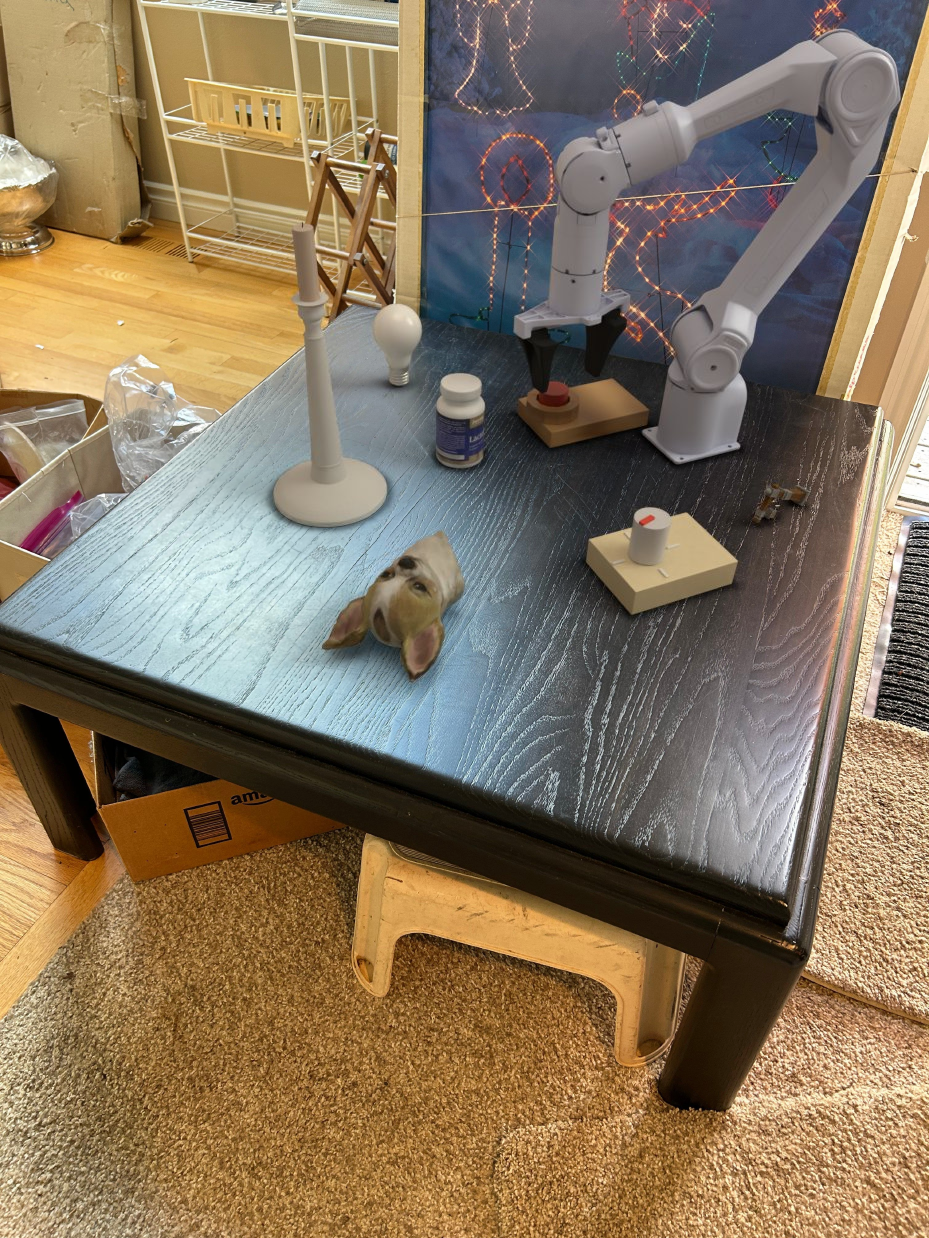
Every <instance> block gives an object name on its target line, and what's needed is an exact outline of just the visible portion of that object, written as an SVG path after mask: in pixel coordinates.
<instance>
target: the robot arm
mask: <svg viewBox="0 0 929 1238" xmlns="http://www.w3.org/2000/svg"><path fill="white" fill-rule="evenodd" d="M899 83H900V82H899V74H898V68H897V64H896V61H895V60H894V58H893V57H892V55H890V53H889V52H887V51H886V50H884V49H881V48H879V47H875V46H873V45H871V44H869V43H868V42H866V41H865V40H863V39H861V38H860V37H859V35H858V34H856V33H855V32H853V31H852V30H850V29H846V28H834V29H831V30H828V31H826V32H824V33H822V34H820V35H819V36H818V37H816V38H815V39H814V40H813V39H808V40H805V41H802V42H799V43H797V44H795V45H794V46H792V47H790V48H789V49H788V50H786V51H785V52H783V53H782V54H780V55H778V56H777V57H775V58H773V59H771V60H769V61H767V62H766V63H764V64H762V65H760V66H758V67H756V68H755V69H753V70H751V71H749V72H748V73H746V74H744V75H742V76H740V77H738V78H737V79H734V80H732V81H731V82H729V83H727V84H725V85H723V86H721V87H720V88H718V89H716V90H714V91H712V92H710V93H709V94H707V95H705V96H703V97H702V98H699V99H697V100H695V101H694V102H692V103H690V104H689V105H686V106H681V105H679V104H677V103H675V102H672V101H669V100H666V101H664V102H662V103H660V104H658V103H657V101H656V100H655V99H652V100H651V101H649V102H646V103H645V104H643V105H642V110H643V112H642V113H640V114H638V115H635V116H633V117H631V118H629V119H627V120H625V121H622V122H621V123H619V124H617V125H615V126H613V127H612V128H609V129H607V127H606V126H602V127H600V128H598V129H596V131H595V134H596V137H597V138H595V137H592V136H591V137H588V136H581V137H578V138H575V139H573V140H571V141H570V142H569V143H568V144H566V146H564V148H563V151H560V154H559V156H558V158H557V161H556V163H555V164H554V166H553V169H554V170H553V171H554V172H553V173H554V177H555V180H556V182H557V184H558V186H559V188H560V191H559V192H558V195H557V196H558V197H557V202H556V208H555V209H556V216H555V219H554V223H553V237H552V249H551V262H550V272H549V273H550V274H549V286H548V287H549V288H548V299H547V300H544V301H543V302H541V303H539V304H538V305H536V306H534V307H532V308H530V309H529V310H526V311H525V312H522V313H519V314H516V315H514V317H513V320H514V321H513V333H514V334H515V336H516V338H517V339H518V341H519V343H520V345H521V347H522V350H523V353H524V355H525V358H526V361H527V365H528V369H529V373H530V374H529V375H530V380H531V386H532V388H533V389H534V388H535V389H536V390H538V391H539V392H540V393H545V392H547V390H548V386H549V382H550V378H551V369H552V364H553V361H554V357H555V355H556V352H557V349H558V347H559V346H560V344H559V343H558V342H557V341H556V340H554V339H553V338H552V337H551V333H549V330H551V329H555V328H559V327H562V326H566V325H567V326H568V325H581V324H583V325H585V339H586V340H585V350H584V351H585V353H584V371H585V372H586V373H587V374H589V375H591V376H592V377H593V378H595V379H596V378H599V377H600V376H601V373H602V372H603V369H604V366H605V364H606V361H607V360H608V357H609V355H610V353H611V350H612V349H613V347H614V345H615V344H616V342H617V340H618V339H619V338H620V336H621V335H622V334H623V333H624V331H625V330H626V329H627V326H628V325H627V324H628V319H627V318H626V317H624V316H623V315H621V314H624V313H627V312H629V309H630V302H631V294H629V293H628V292H625V291H624V290H622V289H620V288H619V289H614V290H607V291H603V285H604V276H605V268H606V267H605V266H606V259H607V258H606V257H607V249H608V241H609V233H610V212H611V206H612V205H613V204H614V203H615V201H616V200H617V198H618V196H619V194H620V193H621V191H623V190H624V191H625V190H628V189H630V188H632V187H634V186H637V185H638V184H639V185H640V184H641V183H643V182H645V181H647V180H649V179H651V178H654V177H656V176H658V175H660V174H662V173H665V172H666V171H667V172H668V171H669V170H671V169H673V168H676V167H677V166H679V165H681V164H684V163H686V162H687V161H688V159H689V157H690V155H691V153H692V151H693V150H694V149H695V146H696V144H697V143H698V142H700V141H703V140H706V139H708V138H710V137H713V136H715V135H719V134H720V133H723V132H725V131H728V130H730V129H733V128H734V127H737V126H740V125H742V124H744V123H747V122H749V121H752V120H754V119H756V118H759V117H762V116H764V115H766V114H769V113H771V112H774V111H776V110H785V111H790V112H793V113H799V114H802V115H806V116H812V117H813V118H814V119H813V120H814V122H813V123H814V129H815V138H816V145H817V152H816V154H815V155H814V157H813V158H812V160H811V161H810V162H809V164H808V165H807V166H806V168H805V169H804V170H803V172H802V173H801V175H800V176H799V177H798V178H797V180H796V182H795V183H794V184H793V185H792V187H791V188H790V189H789V191H788V193H787V194H786V195H785V196H784V198H783V200H782V201H780V203H779V205H778V206H777V208H776V209H775V210H774V211H773V213H772V214H771V216H770V217H769V218H768V219H767V221H766V223H765V224H764V225H763V227H762V228H761V230H760V231H759V232H758V233H757V235H756V236H755V238H754V239H753V240H752V242H751V243H750V245H748V247H747V248H746V250H745V251H744V253H743V254H742V255H741V257H740V258H739V260H737V262H736V264H735V265H734V266H733V267H732V269H731V270H730V271H729V272H728V275H727V276H726V277H725V278H724V280H723V281H722V283H721V284H720V285H719V286H718V287H715V288H713V289H711V290H708V291H705V292H704V293H703V294H702V295H701V297H700V298H699V299H698V300H697V301H696V303H695V304H694V305H692V306H691V307H689V308H688V309H686V310H683V312H682V313H680V314H679V315H678V316H677V317H676V318H675V320H674V321H673V323H672V325H671V327H670V330H669V342H670V346H671V347H672V349H673V350H674V351H675V356H674V358H673V360H672V362H671V364H670V365H669V367H668V369H667V373H666V381H665V387H664V392H663V398H662V402H661V408H660V414H659V419H658V424H657V426H654V427H648V428H645V429H642V430H641V435H642V436H643V437H645V439H647V440H648V441H649V442H650V443H651V444H652V445H653V446H655V448H657V449H658V450H659V451H660V452H661V453H662V454H663V455H665V457H667V458H668V459H669V460H670V461H671V462H672V463H673V464H675V465H682V464H686V463H690V462H693V461H699V460H702V459H705V458H710V457H713V456H717V455H720V454H721V455H722V454H725V453H730V452H733V451H737V450H739V449H740V448H741V444H740V443H739V442H738V441H737V440H738V436H739V433H740V429H741V425H742V420H743V417H744V412H745V409H746V405H747V400H748V391H747V384H746V382H745V380H744V378H743V376H742V375H741V373H740V370H741V367H742V363H743V358H744V356H745V355H746V353H747V352H748V351H749V349H750V348H751V347H752V346H753V342H754V337H755V333H756V324H757V321H758V317H759V315H760V314H761V313H762V312H763V310H764V309H765V308H766V307H767V305H768V304H769V303H770V301H771V300H772V299H773V298H774V296H775V295H776V294H777V293H778V291H779V290H780V289H781V287H782V286H783V285H784V284H785V282H786V281H787V280H788V278H789V277H790V276H791V274H792V273H793V272H794V271H795V269H796V268H797V267H798V266H799V265H800V263H801V262H802V260H803V259H804V258H805V257H806V256H807V254H808V253H809V252H810V250H811V249H812V247H814V245H815V244H816V242H817V241H818V240H819V239H820V238H821V236H822V235H823V233H824V232H825V231H826V230H827V228H828V227H829V225H830V224H831V223H832V222H833V220H834V219H835V218H836V217H837V216H838V214H839V213H840V211H841V210H842V209H843V207H844V206H845V205H846V204H847V203H848V201H849V200H850V199H851V197H852V196H853V194H854V193H855V192H856V191H857V189H859V187H860V186H861V185H862V183H863V182H864V181H865V180H866V178H867V177H868V175H869V174H870V173H871V172H872V170H873V168H874V167H875V165H876V164H877V161H878V159H879V156H880V152H881V148H882V145H883V141H884V138H885V134H886V130H887V127H888V123H889V120H890V116H891V113H892V112H893V111H894V109H896V107H897V105H899V103H900V101H901V89H900V84H899Z"/></svg>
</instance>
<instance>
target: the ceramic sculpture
mask: <svg viewBox="0 0 929 1238" xmlns="http://www.w3.org/2000/svg"><path fill="white" fill-rule="evenodd" d="M465 589H466V580H465V578H464V577H463V574H462V570H461V567H460V564H459V562H458V559H457V558H456V555H455V552H454V549H453V547H452V545H451V543H450V541H449V540H448V537H447V534H446V532H445V531H444V530H442V529H440V530H438V531H436V532H435V533H434V534H431V535H429V536H426V537H424V538H422V539H419V540H417V541H416V542H415V543H414V544H412V545H411V546H409V547H408V548H407V549H406V550H405V551H403V553H402V554H401V555H400V556H398V557H397V558H395V559H394V560H393V562H392V563H391V564H390V566H388V567H386V568H385V569H384V570H383V571H382V572H380V573H379V575H378V576H377V578H375V580H374V582H373V583H372V584H371V585H369V587H368V589H367V591H366V593H365V595H363V596H359V597H357V598H355V599H353V600H350V601H349V602H348V604H347V605H346V607H345V608H344V609H342V610H341V611H340V612H339V614H338V616H337V618H336V622H335V623H334V624H333V626H332V629H331V631H330V633H329V636H328V638H327V639H326V640H324V642H323V644H322V645H321V649H322V650H324V651H330V650H331V651H332V650H339V649H340V650H341V649H346V648H350V647H357V646H359V645H360V644H362V643H363V642H364V640H365V639H366V637H367V635H368V633H370V631H371V632H372V634H373V636H374V637H375V639H376V640H377V641H378V642H380V643H382V644H384V645H386V646H389V647H393V648H399V649H400V648H401V649H400V659H399V660H400V663H401V665H402V667H403V668H404V670H405V672H406V674H407V677H408V681H409V682H410V683H414V682H415V681H417V680H418V679H420V678H421V677H423V676H424V675H426V674H427V673H428V672H429V671H430V669H431V668H432V667H433V666H434V665H435V663H436V661H437V660H438V657H439V655H440V652H441V650H442V648H443V643H444V640H445V639H446V638H445V637H446V635H445V627H444V625H443V623H442V620H441V618H442V616H443V615H444V613H445V612H446V608H448V607H451V606H453V605H455V604H456V603H457V602H459V600H460V599H462V597H463V595H464V593H465Z"/></svg>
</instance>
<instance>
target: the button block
mask: <svg viewBox="0 0 929 1238" xmlns="http://www.w3.org/2000/svg"><path fill="white" fill-rule="evenodd" d="M568 388H569V392H568V402H567V404H566V405H565V406H560V407H549V406H545V405H542V404H540V403H539V391H538V390H536V389H535V388H534V387H533V389H531V390H530V391H529V392H527V394H526V396H525V397H520V398H518V400H517V414H518V416H519V417H520V418H521V419H522V420H523V421H524V422H525V424H527V426H528V427H529V428H531V430H532V431H533V433H535V434H536V435H537V436H538V437H539V438H540V439H541V440H542V441H543V442H544V443H545V445H547V447H548V448H550V449H551V448H556V447H560V446H564V445H569V444H573V443H576V442H581V441H585V440H589V439H593V438H598V437H602V436H606V435H611V434H614V433H619V432H623V431H627V430H632V429H636V428H640V427H645V426H647V425H648V421H649V416H650V415H649V414H650V409H649V408H648V407H646V405H644V404H643V403H642V402H641V401H639V400H638V399H637V398H636V397H635V396H634V395H632V393H630V392H629V391H628V390H626V388H625V387H623V386H622V385H621V384H620V383H619V382H618V381H616V380H615V379H614V378H608V379H604V380H599V381H594V382H589V383H586V384H580V385H575V386H571V387H568Z"/></svg>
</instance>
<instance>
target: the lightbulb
mask: <svg viewBox="0 0 929 1238" xmlns="http://www.w3.org/2000/svg"><path fill="white" fill-rule="evenodd" d="M372 335H373V338H374V341H375V343H376V344H377V346H378V347H379V348H380V350H381V351H382V353H383V354H384V358H385V361H386V363H387V365H388V374H389V375H388V376H389V378H388V379H389V383H390V384H391V385H394V386H396V387H402V386H405V385H406V384H408V383H409V382H410V363H411V361H412V357H413V356H412V355H413V354H414V353H413V352H414V351H415V350H416V348H417V346H418V345H419V343H420V341H421V339H422V335H423V325H422V322H421V318H420V316H419V315H418V313H417V312H416V311H415V310H414V309H412V308H411V306H409V305H406V304H403V303H391V304H387V305H386V306H383V307H382V308H381V309H380V310H379V311H378V312H377V314H376V315H375V317H374V320H373V323H372Z"/></svg>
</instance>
